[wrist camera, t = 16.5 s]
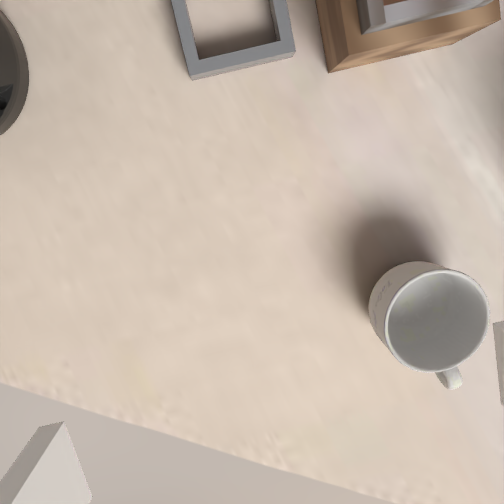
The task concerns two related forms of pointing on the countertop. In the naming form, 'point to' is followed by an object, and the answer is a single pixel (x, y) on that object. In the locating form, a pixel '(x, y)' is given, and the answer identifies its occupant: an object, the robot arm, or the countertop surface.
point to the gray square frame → (238, 58)
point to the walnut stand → (396, 27)
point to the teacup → (430, 318)
